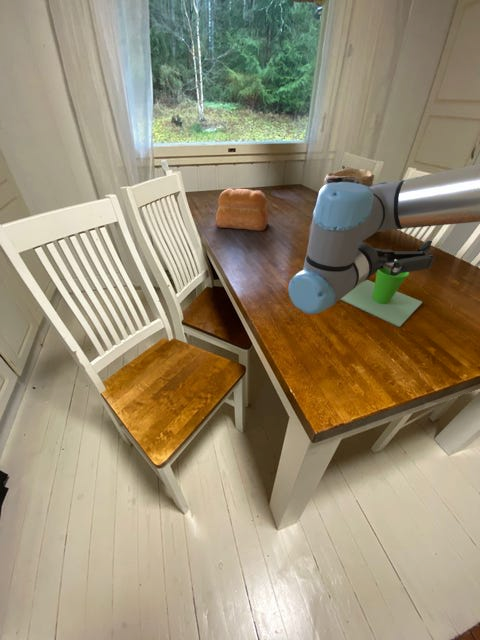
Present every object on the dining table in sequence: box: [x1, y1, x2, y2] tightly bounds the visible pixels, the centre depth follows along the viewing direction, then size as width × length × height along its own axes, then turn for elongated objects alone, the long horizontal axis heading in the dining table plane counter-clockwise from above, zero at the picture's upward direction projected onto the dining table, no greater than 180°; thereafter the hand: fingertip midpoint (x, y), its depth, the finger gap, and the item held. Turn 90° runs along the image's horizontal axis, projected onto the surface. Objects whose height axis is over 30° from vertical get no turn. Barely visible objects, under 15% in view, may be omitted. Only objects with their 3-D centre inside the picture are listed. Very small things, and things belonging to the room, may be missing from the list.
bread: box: [215, 188, 269, 232], centre depth 137 cm, size 16×26×17 cm, turn 78°
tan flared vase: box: [323, 167, 375, 187], centre depth 138 cm, size 22×22×25 cm
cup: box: [373, 268, 410, 304], centre depth 85 cm, size 9×9×11 cm
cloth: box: [339, 279, 423, 328], centre depth 89 cm, size 20×18×1 cm
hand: (396, 237), depth 64 cm, fingers open, 13 cm apart
